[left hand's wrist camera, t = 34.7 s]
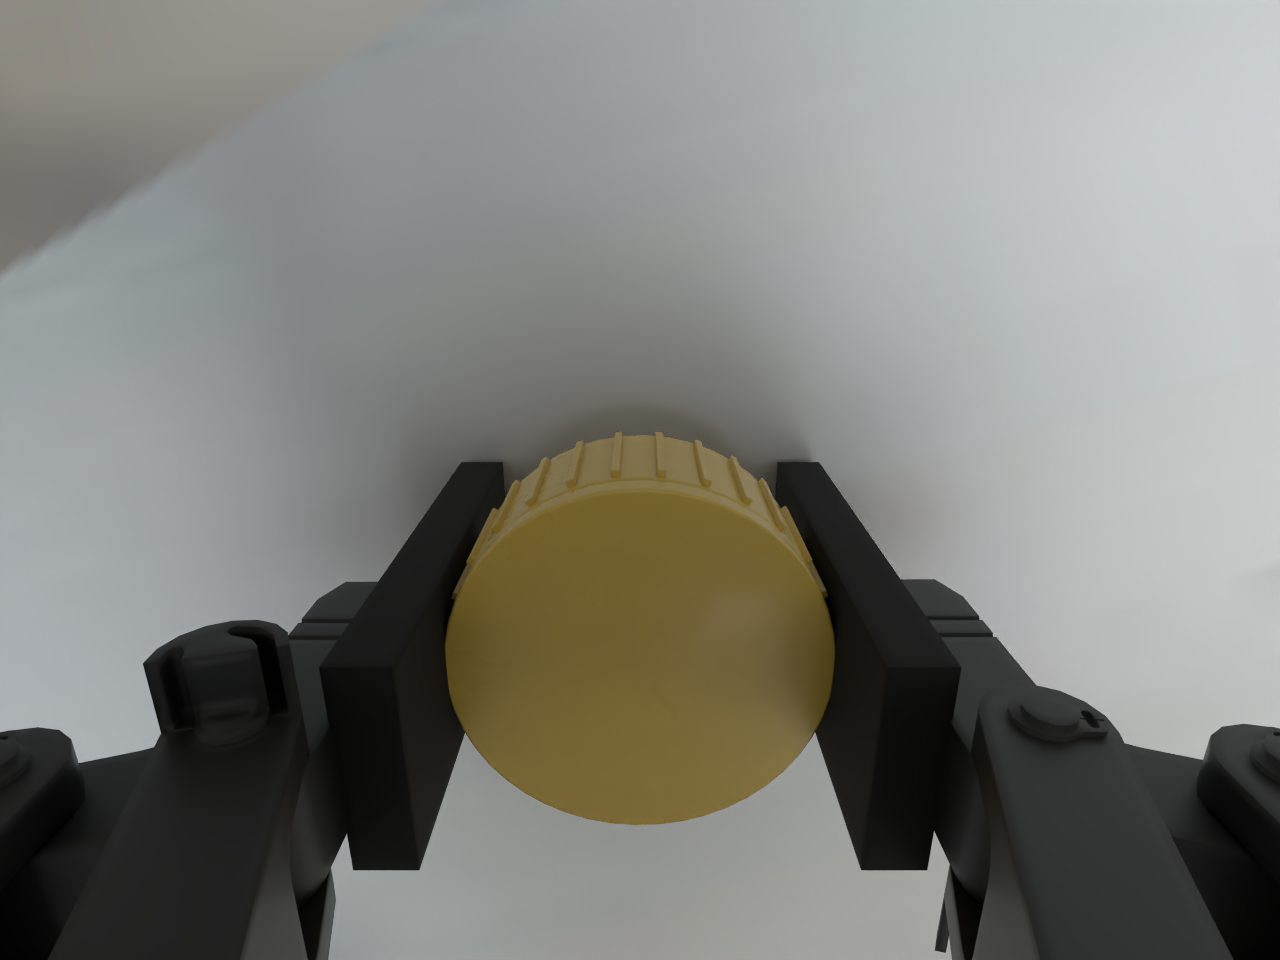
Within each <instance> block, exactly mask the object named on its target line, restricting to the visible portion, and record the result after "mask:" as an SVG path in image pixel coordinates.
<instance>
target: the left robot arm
mask: <svg viewBox="0 0 1280 960" xmlns="http://www.w3.org/2000/svg"><path fill="white" fill-rule="evenodd" d="M504 500H505V492H504V477H503V462H461V464H460V465H459V467H458V468H457V469H456V471H455V472H454V474H453V475H452V477H451V478H450V480H449V481H448V482H447V484H446V485H445V487H444V488H443V490H442V491H441V492H440V494H439V495H438V497H437V498H436V500H435V501H434V503H433V504H432V505H431V507H430V508H429V510H428V511H427V513H426V514H425V515H424V517H423V518H422V520H421V521H420V523H419V524H418V526H417V527H416V528H415V530H414V531H413V533H412V534H411V536H410V537H409V538H408V540H407V541H406V543H405V544H404V546H403V547H402V549H401V550H400V551H399V553H398V554H397V556H396V557H395V559H394V560H393V561H392V563H391V564H390V566H389V567H388V569H387V570H386V572H385V573H384V574H383V576H382V577H381V579H380V580H379V582H345V583H344V584H342V585H340V586H339V587H337V588H335V589H334V590H332V591H331V592H329V593H327V594H326V595H324V596H322V597H321V598H319V599H318V600H317V601H316V602H315V604H314V605H313V606H312V607H311V608H310V610H309V611H308V612H307V613H306V615H305V616H304V617H303V618H302V623H298V624H297V626H296V627H295V628H294V629H293V630H292V632H291V633H290V634H289V635H288V632H286V631H285V630H284V629H282V628H281V627H280V626H279V625H277V624H274V623H269V622H265V621H260V620H241V621H229V622H224V623H219V624H214V625H210V626H205V627H202V628H200V629H197V630H194V631H192V632H189V633H186V634H183V635H181V636H178V637H177V638H175V639H173V640H172V641H170V642H168V643H166V644H165V645H163V646H161V647H160V648H158V649H157V650H156V651H155V652H154V653H153V654H152V655H151V656H150V657H149V658H148V659H147V660H146V661H145V662H144V663H143V666H144V669H145V673H146V677H147V681H148V685H149V688H150V692H151V696H152V700H153V704H154V708H155V711H156V715H157V719H158V723H159V727H160V730H161V735H160V737H159V739H158V741H157V743H156V745H155V747H154V748H150V749H146V750H142V751H138V752H133V753H128V754H123V755H118V756H113V757H108V758H103V759H98V760H93V761H88V762H83V763H78V760H77V757H76V754H75V750H74V747H73V744H72V741H71V739H70V738H69V737H67V736H66V735H65V734H64V733H62V732H61V731H60V730H53V729H46V728H39V727H37V728H29V729H21V730H13V731H5V732H1V733H0V960H328V955H329V948H330V940H331V933H332V925H333V917H334V910H335V902H336V898H335V890H334V883H333V877H332V872H331V866H332V864H333V862H334V860H335V857H336V855H337V853H338V851H339V849H340V847H341V845H342V842H343V840H344V838H345V836H346V834H347V836H348V842H349V848H350V854H351V860H352V865H353V870H419V869H420V866H421V863H422V860H423V857H424V854H425V851H426V848H427V845H428V842H429V839H430V836H431V833H432V830H433V827H434V824H435V821H436V818H437V815H438V812H439V809H440V806H441V803H442V800H443V797H444V794H445V791H446V788H447V785H448V782H449V779H450V776H451V773H452V770H453V767H454V764H455V761H456V758H457V755H458V752H459V749H460V746H461V743H462V740H463V737H464V734H465V731H464V730H463V728H462V726H461V723H460V721H459V719H458V717H457V715H456V713H455V711H454V708H453V705H452V701H451V698H450V694H449V686H448V677H447V667H446V656H445V636H446V630H447V624H448V620H449V616H450V613H451V610H452V607H453V604H454V601H455V600H453V599H451V597H452V594H453V591H454V589H455V587H456V585H457V583H458V581H459V579H460V577H461V575H462V573H463V571H464V569H465V567H466V564H467V562H466V561H467V559H468V557H469V555H470V553H471V551H472V549H473V547H474V545H475V543H476V541H477V539H478V537H479V535H480V533H481V531H482V529H483V527H484V525H485V522H486V520H487V518H488V516H489V514H490V512H491V511H492V509H493V508H495V509H497V510H498V509H499V508H500V506H501V505H502V504H503V502H504ZM775 500H776V502H777V503H778V505H779V506H780V508H782V507H784V506H786V507H787V509H788V511H789V513H790V515H791V517H792V519H793V521H794V523H795V525H796V527H797V529H798V531H799V533H800V535H801V537H802V539H803V541H804V543H805V546H806V548H807V550H808V552H809V554H810V556H811V558H812V562H813V564H814V566H815V568H816V570H817V572H818V574H819V576H820V578H821V580H822V582H823V584H824V587H825V589H826V591H827V594H828V597H825V598H824V600H825V602H826V605H827V607H828V609H829V613H830V617H831V621H832V625H833V629H834V636H835V661H834V672H833V681H832V690H831V695H830V699H829V702H828V704H827V707H826V710H825V712H824V715H823V718H822V720H821V722H820V723H819V725H818V727H817V729H816V731H815V733H816V736H817V739H818V742H819V745H820V748H821V751H822V754H823V757H824V760H825V763H826V766H827V769H828V772H829V775H830V778H831V781H832V784H833V787H834V790H835V793H836V796H837V799H838V802H839V805H840V808H841V811H842V814H843V817H844V820H845V823H846V826H847V829H848V832H849V835H850V838H851V841H852V844H853V847H854V850H855V853H856V856H857V859H858V862H859V865H860V868H861V870H927V868H928V862H929V857H930V851H931V845H932V839H933V833H934V831H935V833H936V835H937V837H938V840H939V842H940V844H941V846H942V848H943V850H944V852H945V854H946V857H947V859H948V861H949V863H950V866H949V872H948V877H947V883H946V888H945V894H944V899H943V904H942V910H941V915H940V921H939V926H938V932H937V939H936V946H935V951H940V952H944V953H946V948H947V943H948V938H950V946H951V954H952V960H1280V729H1279V728H1275V727H1265V726H1257V725H1248V724H1240V725H1232V726H1225V727H1221V728H1220V729H1219V730H1218V731H1216V732H1215V733H1214V734H1212V735H1211V737H1210V740H1209V743H1208V746H1207V749H1206V753H1205V756H1204V759H1203V760H1200V759H1195V758H1190V757H1185V756H1180V755H1175V754H1170V753H1165V752H1160V751H1155V750H1150V749H1145V748H1140V747H1136V746H1132V745H1129V744H1125V743H1124V741H1123V739H1122V737H1121V735H1120V734H1119V732H1118V731H1117V729H1116V728H1115V727H1114V726H1113V724H1112V723H1111V722H1110V721H1109V720H1108V718H1107V717H1106V716H1105V715H1103V714H1102V713H1100V712H1099V711H1097V710H1096V709H1095V708H1093V707H1092V706H1090V705H1089V704H1087V703H1086V702H1084V701H1082V700H1079V699H1077V698H1075V697H1072V696H1070V695H1068V694H1065V693H1063V692H1061V691H1058V690H1053V689H1049V688H1045V687H1041V686H1036V685H1035V684H1034V682H1033V681H1032V680H1031V679H1030V677H1029V676H1028V675H1027V674H1026V673H1025V671H1024V670H1023V669H1022V668H1021V667H1020V665H1019V664H1018V663H1017V662H1016V660H1015V659H1014V658H1013V657H1012V656H1011V654H1010V653H1009V652H1008V651H1007V650H1006V648H1005V647H1004V646H1003V645H1002V644H1001V642H1000V641H999V640H998V639H997V637H993V633H992V631H991V630H990V629H989V628H988V627H987V625H986V624H985V623H984V622H983V620H979V616H978V614H977V613H976V612H975V611H974V610H973V608H972V607H971V606H970V605H969V603H968V602H967V601H966V600H965V599H964V597H963V596H961V595H959V594H958V593H956V592H955V591H953V590H951V589H950V588H948V587H946V586H945V585H943V584H941V583H940V582H938V581H936V580H935V579H900V578H899V577H898V575H897V574H896V572H895V571H894V569H893V568H892V567H891V565H890V564H889V562H888V561H887V559H886V558H885V556H884V555H883V554H882V552H881V551H880V549H879V548H878V546H877V545H876V544H875V542H874V541H873V539H872V538H871V536H870V535H869V533H868V532H867V531H866V529H865V528H864V526H863V525H862V523H861V522H860V521H859V519H858V518H857V516H856V515H855V513H854V512H853V510H852V509H851V508H850V506H849V505H848V503H847V502H846V500H845V499H844V498H843V496H842V495H841V493H840V492H839V490H838V489H837V488H836V486H835V485H834V483H833V482H832V480H831V479H830V477H829V476H828V475H827V473H826V472H825V470H824V469H823V467H822V466H821V465H820V463H819V462H778V468H777V483H776V499H775Z"/></svg>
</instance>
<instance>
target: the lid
mask: <svg viewBox="0 0 1280 960" xmlns="http://www.w3.org/2000/svg"><path fill="white" fill-rule="evenodd" d="M466 562H467V564H466V567H465V569H464V571H463V573H462V575H461V577H460V579H459V581H458V583H457V585H456V587H455V589H454V591H453V594H452V597H451V599H453V600H455V601H454V604H453V607H452V610H451V613H450V616H449V620H448V624H447V630H446V636H445V656H446V667H447V677H448V686H449V694H450V698H451V701H452V705H453V708H454V711H455V713H456V715H457V717H458V719H459V721H460V723H461V726H462V728H463V730H464V731H465V733H466V734H467V736H468V737H469V739H470V741H471V742H472V744H473V745H474V747H475V748H476V749H477V750H478V752H479V753H480V754H481V755H482V756H483V757H484V759H485V760H486V761H487V762H488V763H489V764H490V765H491V766H492V767H493V768H494V769H495V770H496V771H497V772H498V773H499V774H501V775H502V776H503V777H504V778H505V779H506V780H507V781H509V782H510V783H512V784H513V785H515V786H516V787H517V788H519V789H520V790H522V791H523V792H524V793H526V794H528V795H530V796H532V797H533V798H535V799H537V800H539V801H541V802H543V803H544V804H547V805H549V806H552V807H554V808H556V809H559V810H561V811H564V812H566V813H570V814H573V815H577V816H580V817H583V818H587V819H592V820H597V821H603V822H608V823H617V824H630V825H646V824H663V823H671V822H678V821H684V820H688V819H692V818H696V817H701V816H704V815H707V814H710V813H713V812H716V811H719V810H721V809H724V808H727V807H729V806H731V805H733V804H735V803H737V802H739V801H741V800H743V799H745V798H747V797H749V796H750V795H752V794H753V793H755V792H757V791H758V790H760V789H761V788H763V787H765V786H766V785H767V784H768V783H770V782H771V781H772V780H773V779H775V778H776V777H777V776H778V775H780V774H781V773H782V772H783V771H784V770H785V769H786V768H787V767H788V766H789V765H790V764H791V763H792V762H793V761H794V760H795V759H796V758H797V757H798V756H799V754H800V753H801V752H802V750H803V749H804V748H805V746H806V745H807V743H808V742H809V741H810V739H811V738H812V736H813V734H814V733H815V731H816V729H817V727H818V725H819V723H820V722H821V720H822V718H823V715H824V712H825V710H826V707H827V704H828V702H829V699H830V695H831V690H832V681H833V672H834V661H835V636H834V629H833V625H832V621H831V617H830V613H829V609H828V607H827V605H826V602H825V600H824V598H825V597H828V594H827V591H826V589H825V587H824V584H823V582H822V580H821V578H820V576H819V574H818V572H817V570H816V568H815V566H814V564H813V562H812V558H811V556H810V554H809V552H808V550H807V548H806V546H805V543H804V541H803V539H802V537H801V535H800V533H799V531H798V529H797V527H796V525H795V523H794V521H793V519H792V517H791V515H790V513H789V511H788V509H787V507H786V506H784V507H782V508H780V506H779V505H778V503H777V502H776V500H775V499H774V498H773V496H772V493H771V491H770V489H769V487H768V485H767V482H766V481H765V480H764V479H763V478H761V479H760V480H759V481H758V480H756V479H755V478H754V477H753V476H752V475H751V474H750V473H749V472H748V471H746V470H745V469H743V468H742V467H740V465H739V463H738V460H737V458H736V457H734V456H732V455H731V456H730V457H729V459H728V458H726V457H724V456H723V455H721V454H719V453H717V452H715V451H713V450H711V449H708V448H705V447H703V445H702V441H699V440H696V439H695V440H694V443H691V442H688V441H683V440H679V439H674V438H670V437H663V432H655V436H651V435H631V436H623V434H622V432H615V437H612V438H606V439H600V440H596V441H593V442H590V443H586V444H584V442H583V440H581V441H578V442H576V445H575V448H572V449H570V450H568V451H565V452H563V453H561V454H559V455H557V456H555V457H554V458H552V459H550V460H549V458H548V457H547V456H546V457H544V458H543V459H541V461H540V464H539V466H538V468H537V469H535V470H534V471H533V472H532V473H530V474H529V475H528V476H527V477H525V478H524V479H523V480H522V481H521V482H519V481H518V480H517V479H516V480H515V481H514V482H513V483H512V485H511V487H510V489H509V491H508V494H507V496H506V498H505V500H504V502H503V504H502V505H501V506H500V508H499V509H498V510H497V509H495V508H493V509H492V511H491V512H490V514H489V516H488V518H487V520H486V522H485V525H484V527H483V529H482V531H481V533H480V535H479V537H478V539H477V541H476V543H475V545H474V547H473V549H472V551H471V553H470V555H469V557H468V559H467V561H466Z"/></svg>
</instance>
